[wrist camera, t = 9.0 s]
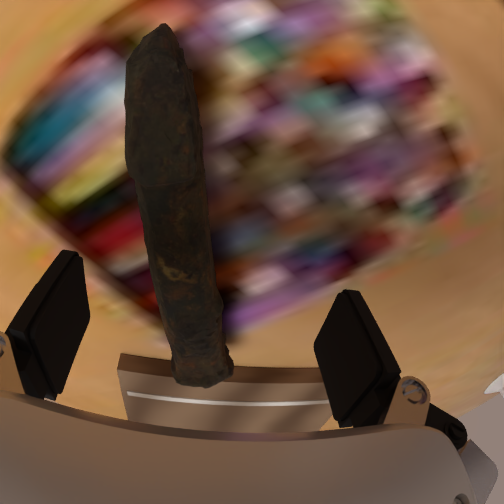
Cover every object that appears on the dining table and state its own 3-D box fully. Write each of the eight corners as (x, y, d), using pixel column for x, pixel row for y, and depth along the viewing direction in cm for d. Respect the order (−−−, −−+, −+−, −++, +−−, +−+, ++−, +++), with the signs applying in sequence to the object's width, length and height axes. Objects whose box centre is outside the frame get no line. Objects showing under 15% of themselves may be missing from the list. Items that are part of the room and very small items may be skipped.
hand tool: (230, 343, 20) (236, 399, 17) (173, 345, 20) (169, 400, 16) (233, 31, 11) (243, 6, 7) (145, 36, 10) (114, 15, 6)
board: (354, 366, 24) (360, 381, 22) (313, 421, 28) (317, 433, 27) (120, 353, 20) (116, 370, 18) (131, 414, 25) (130, 428, 23)
